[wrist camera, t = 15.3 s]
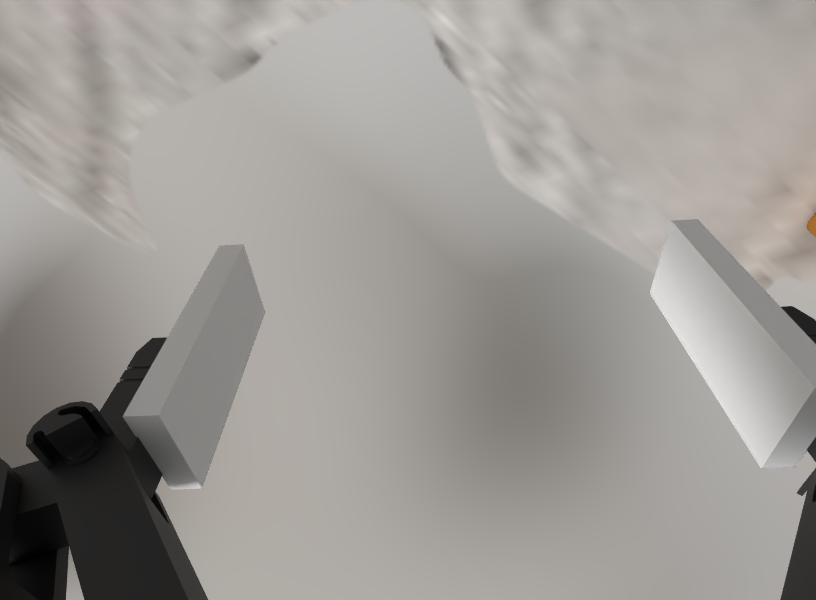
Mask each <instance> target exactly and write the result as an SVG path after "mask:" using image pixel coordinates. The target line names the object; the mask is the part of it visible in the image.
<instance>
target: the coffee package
mask: <svg viewBox="0 0 816 600" xmlns="http://www.w3.org/2000/svg"><path fill="white" fill-rule="evenodd" d="M807 229H808V230H809V231H810V232H811V233H812V234H813V235H814V236H815V237H816V213H815V215H814V216H813V217H812V218H811V220H810V221H809V222H808V224H807Z"/></svg>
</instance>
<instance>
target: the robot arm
mask: <svg viewBox="0 0 816 600" xmlns="http://www.w3.org/2000/svg"><path fill="white" fill-rule="evenodd" d="M650 294H651V296H652V297H653V299H654V301H655V302H656V304H657V305H658V307H659V308H660V310H661V312H662V313H663V315H664V316H665V318H666V319H667V321H668V323H669V324H670V326H671V327H672V329H673V331H674V332H675V333H676V335H677V337H678V338H679V340H680V342H681V343H682V344H683V346H684V348H685V349H686V351H687V353H688V354H689V356H690V357H691V359H692V360H693V362H694V363H695V365H696V366H697V368H698V370H699V371H700V373H701V375H702V376H703V378H704V379H705V381H706V382H707V384H708V386H709V387H710V389H711V390H712V392H713V393H714V395H715V396H716V398H717V400H718V401H719V403H720V404H721V406H722V408H723V409H724V411H725V412H726V414H727V415H728V417H729V419H730V420H731V422H732V423H733V425H734V426H735V428H736V430H737V431H738V433H739V434H740V436H741V437H742V439H743V441H744V442H745V444H746V445H747V447H748V448H749V450H750V452H751V453H752V455H753V456H754V458H755V460H756V461H757V463H758V464H759V466H760V467H761V468H785V467H786V468H787V467H796V466H797V464H798V463H799V462H800V460H801V459H802V458H803V456H804V455H805V454H806V452H807V451H808V452H809V454H810V455H811V456H812V457H813V459H814V460H815V462H816V321H815V320H814V319H813V318H811V317H809V316H808V315H806V314H805V313H803V312H801V311H800V310H798V309H796V308H794V307H792V306H788V307H780V306H779V305H778V304H777V303H776V302H775V301H774V300H773V299H772V297H771V296H770V295H769V294H768V293H767V292H766V291H765V290H764V289H763V288H762V287H761V286H760V285H759V284H758V283H757V282H756V281H755V279H754V278H753V277H752V276H751V275H750V274H749V273H748V272H747V271H746V270H745V269H744V268H743V267H742V266H741V265H740V264H739V263H738V262H737V260H736V259H735V258H734V257H733V256H732V255H731V254H730V253H729V252H728V251H727V250H726V249H725V248H724V247H723V246H722V245H721V244H720V242H719V241H718V240H717V239H716V238H715V237H714V236H713V235H712V234H711V233H710V232H709V231H708V230H707V229H706V228H705V227H704V226H703V224H702V223H701V222H700V221H699V220H698V219H694V220H676V221H671V225H670V228H669V231H668V235H667V238H666V241H665V244H664V248H663V251H662V254H661V258H660V261H659V264H658V268H657V271H656V274H655V278H654V281H653V284H652V287H651V291H650ZM264 314H265V310H264V307H263V304H262V301H261V298H260V295H259V292H258V288H257V285H256V282H255V279H254V276H253V273H252V269H251V266H250V263H249V260H248V257H247V254H246V251H245V247H244V245H225V246H219V248H218V250H217V251H216V253H215V255H214V256H213V258H212V260H211V262H210V264H209V265H208V267H207V269H206V270H205V272H204V274H203V276H202V278H201V279H200V281H199V283H198V285H197V286H196V288H195V290H194V292H193V293H192V295H191V297H190V299H189V301H188V302H187V304H186V306H185V307H184V309H183V311H182V313H181V315H180V316H179V318H178V320H177V322H176V324H175V325H174V327H173V329H172V331H171V332H170V334H169V336H168V337H167V338H152V339H151V340H150V341H149V342H147V343H146V344H145V345H144V346H143V347H142V348H141V349H139V350H138V351H137V352H136V354H135V355H134V357H133V359H132V360H131V362H130V364H129V365H128V367H127V370H125V372H124V373H123V375H122V377H121V378H120V382H119V383H117V385H116V386H115V388H114V389H113V391H112V392H111V394H110V396H109V398H108V399H107V401H106V402H105V404H104V405H103V407H102V409H101V410H100V412H99V411H98V409H97V408H96V407H95V406H94V405H93V404H92V403H87V402H83V401H82V402H73V403H68V404H66V405H63V406H60V407H58V408H56V409H54V410H52V411H51V412H49V413H48V414H46V415H44V416H43V417H42V418H41V419H40V420H39V421H38V422H37V423H36V424H35V425H33V427H32V429H31V430H30V432H29V434H28V435H27V441H26V446H27V447H28V448H29V449H30V450H31V452H32V453H33V454H34V455H35V456H36V457H37V458H38V459H39V461H36V462H33V463H29V464H26V465H22V466H19V467H16V468H11V467H10V466H9V465H8V464H7V463H6V462H5V461H3V460H2V459H1V458H0V600H66V588H67V570H68V554H69V547H70V550H71V554H72V557H73V561H74V564H75V568H76V571H77V575H78V578H79V581H80V585H81V589H82V592H83V596H84V600H208V598H207V596H206V594H205V592H204V590H203V588H202V586H201V584H200V582H199V579H198V577H197V576H196V573H195V571H194V569H193V567H192V565H191V562H190V560H189V559H188V556H187V554H186V552H185V550H184V548H183V546H182V544H181V542H180V539H179V537H178V535H177V533H176V531H175V529H174V527H173V525H172V522H171V520H170V518H169V516H168V514H167V512H166V510H165V508H164V506H163V503H162V502H161V499H160V497H159V496H158V494H157V493H156V492H155V490H156V488H157V486H158V484H159V482H160V479H161V477H163V478H164V480H165V481H166V483H167V484H168V486H169V487H170V489H193V488H202V487H203V484H204V481H205V478H206V476H207V473H208V470H209V467H210V464H211V462H212V459H213V456H214V453H215V450H216V447H217V445H218V442H219V439H220V436H221V434H222V431H223V428H224V425H225V423H226V420H227V417H228V414H229V411H230V409H231V406H232V403H233V400H234V398H235V394H236V392H237V389H238V386H239V384H240V381H241V378H242V375H243V372H244V370H245V367H246V364H247V361H248V359H249V356H250V353H251V350H252V347H253V345H254V342H255V339H256V336H257V333H258V331H259V328H260V325H261V322H262V320H263V317H264ZM806 491H807V494H806V498H805V502H804V506H803V510H802V514H801V518H800V523H799V526H798V531H797V535H796V539H795V543H794V547H793V551H792V555H791V559H790V563H789V567H788V571H787V575H786V580H785V584H784V588H783V592H782V596H781V600H816V468H815V470H814V471H813V472H812V474H811V475H810V476H809V477H808V479H807V480H806V481H805V482H804V484H803V485H802V486H801V488H800V489H799V490H798V492H797V493H798V494H799V495H801V496H803V495H804V493H805V492H806Z"/></svg>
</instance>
